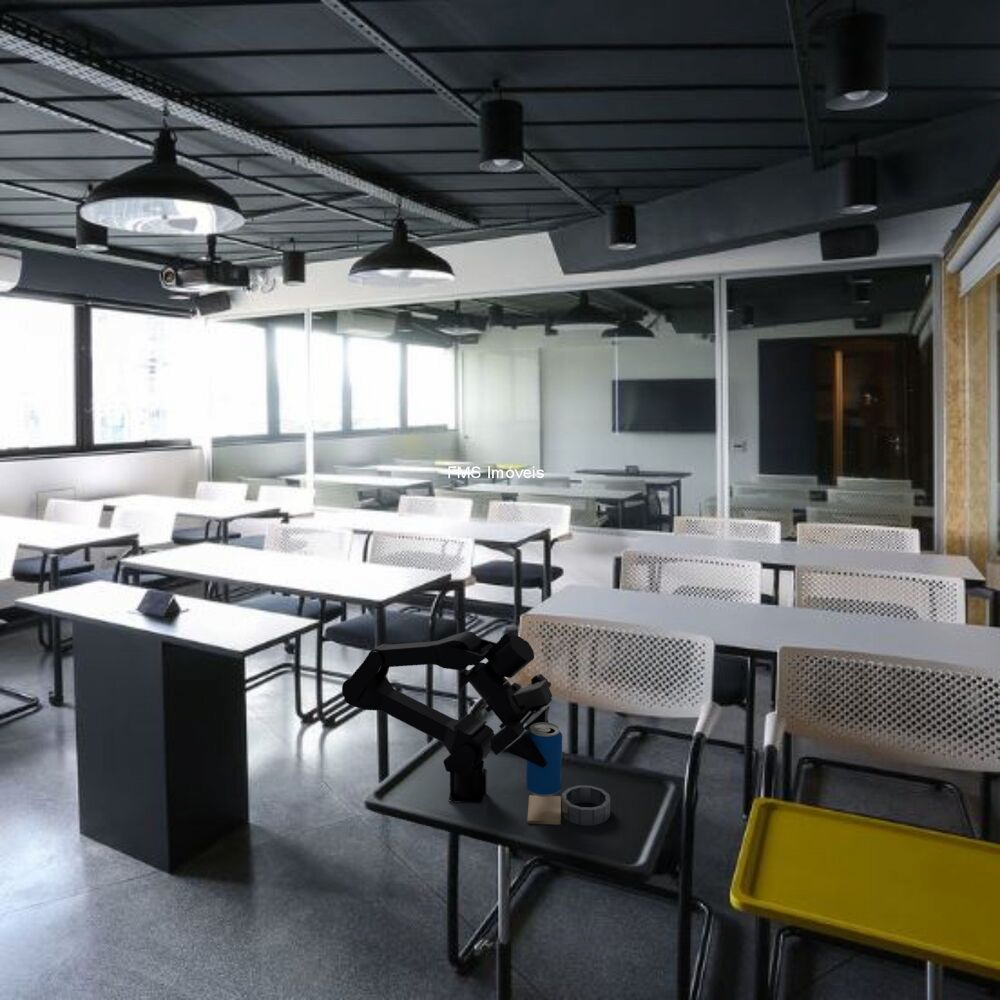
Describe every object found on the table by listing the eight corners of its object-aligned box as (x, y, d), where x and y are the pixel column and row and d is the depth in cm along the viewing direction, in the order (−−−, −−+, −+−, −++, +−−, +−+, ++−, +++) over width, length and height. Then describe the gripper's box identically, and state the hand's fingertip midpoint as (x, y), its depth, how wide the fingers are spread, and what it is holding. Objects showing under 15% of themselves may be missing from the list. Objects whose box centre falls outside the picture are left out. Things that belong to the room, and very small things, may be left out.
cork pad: (527, 823, 149) (527, 820, 148) (529, 798, 157) (529, 795, 157) (560, 824, 148) (560, 821, 148) (560, 799, 157) (560, 796, 157)
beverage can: (560, 800, 149) (561, 737, 147) (524, 797, 149) (525, 735, 148) (561, 782, 155) (563, 722, 153) (527, 780, 156) (528, 720, 154)
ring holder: (561, 824, 148) (561, 808, 148) (561, 799, 157) (562, 784, 156) (611, 826, 148) (611, 810, 147) (608, 801, 156) (608, 786, 156)
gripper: (506, 683, 142) (566, 756, 139) (542, 650, 159) (596, 714, 156) (464, 719, 146) (521, 790, 143) (504, 683, 163) (556, 745, 160)
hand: (551, 757), depth 151 cm, fingers closed on beverage can, 6 cm apart
